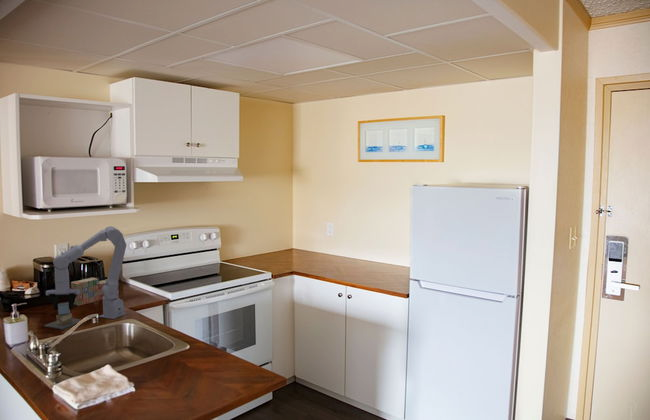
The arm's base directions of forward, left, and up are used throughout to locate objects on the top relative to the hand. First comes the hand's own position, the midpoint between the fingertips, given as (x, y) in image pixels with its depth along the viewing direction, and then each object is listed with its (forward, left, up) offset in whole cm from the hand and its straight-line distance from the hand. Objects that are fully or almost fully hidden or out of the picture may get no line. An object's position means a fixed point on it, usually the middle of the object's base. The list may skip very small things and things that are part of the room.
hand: (64, 309), depth 217 cm
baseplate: (0, 0, -7) cm, 7 cm away
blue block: (0, 0, -2) cm, 2 cm away
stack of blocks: (+20, -34, -7) cm, 40 cm away
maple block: (0, 0, -6) cm, 6 cm away
